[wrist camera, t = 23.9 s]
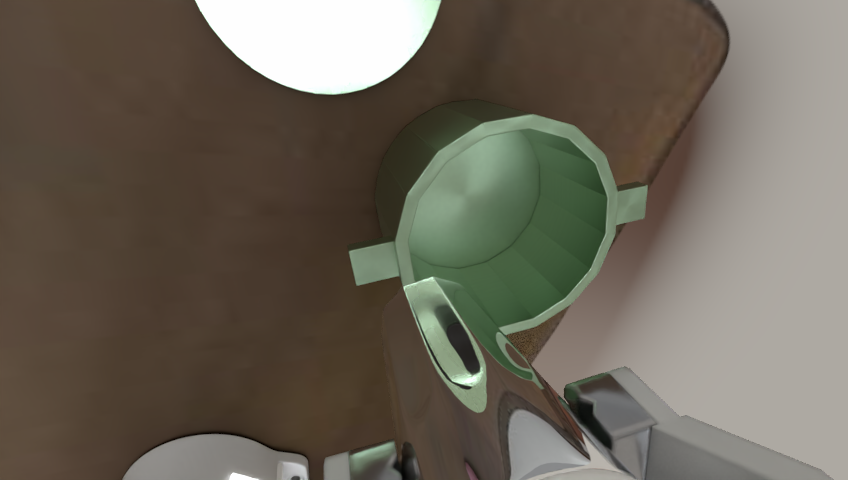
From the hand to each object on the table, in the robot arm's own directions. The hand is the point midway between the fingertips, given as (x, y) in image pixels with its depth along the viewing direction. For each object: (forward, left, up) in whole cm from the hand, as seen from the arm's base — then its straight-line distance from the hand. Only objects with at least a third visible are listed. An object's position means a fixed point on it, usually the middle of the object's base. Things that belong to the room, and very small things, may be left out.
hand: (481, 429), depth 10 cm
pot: (-4, -8, -25) cm, 26 cm away
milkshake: (0, 0, -5) cm, 5 cm away
